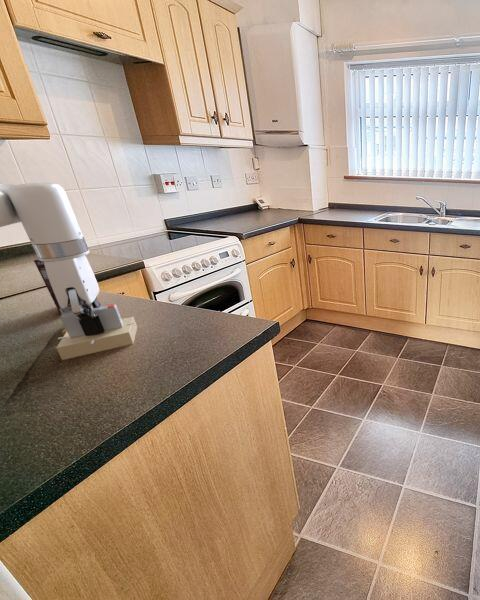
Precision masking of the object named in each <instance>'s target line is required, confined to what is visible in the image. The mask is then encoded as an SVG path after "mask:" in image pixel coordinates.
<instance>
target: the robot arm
mask: <svg viewBox="0 0 480 600" xmlns="http://www.w3.org/2000/svg"><path fill="white" fill-rule="evenodd" d="M17 223H21V224H22V227H23V228H24V231H25V233H26V236H27V237H28V239H29V241H30V243H31V247H32V248H33V250H34V252H35V255H36V257H37V258H39V260H40V261H44V264H45V268H46V272H47V275H48V278H49V281H50V284H51V286H52V289H53V291H54V294H55V296H56V299H57V301H58V303H59V306H60V307H61V308H62V309H67V308H68V307H69V305H70V304H71V307H72V312H73V314H75V315H76V317H77V319H78V321H79V323H80V325H81V327H82V329H83V332H84V334H85V335H86V336H91V335H95V334H100V333H104V331H105V330H104V328H103V325H102V323H101V321H100V318H99V316H98V315H97V316H96V314H95V311H94V309H93V308H98V307H102V304H101V302H100V301H99V298H98V295H99V293H100V286H99V283H98V280H97V279H96V276H95V273H94V271H93V268H92V267H91V263H90V262H89V260H88V258H87V256H86V255H88V254H90V250H89V249H90V248H89V247H88V244H87V242H86V239H85V237H84V235H83V232H82V230H81V227H80V225H79V222H78V220H77V216H76V215H75V212H74V210H73V207H72V205H71V203H70V199H69V197H68V195H67V193H66V191H65V189H64V188H63V186H61V185H60V184H58V183H54V182H34V183H33V182H32V183H19V184H11V183H0V228H2V227H6V226H11V225H14V224H17ZM85 301H86V302H85ZM87 309H89V310H87Z"/></svg>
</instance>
